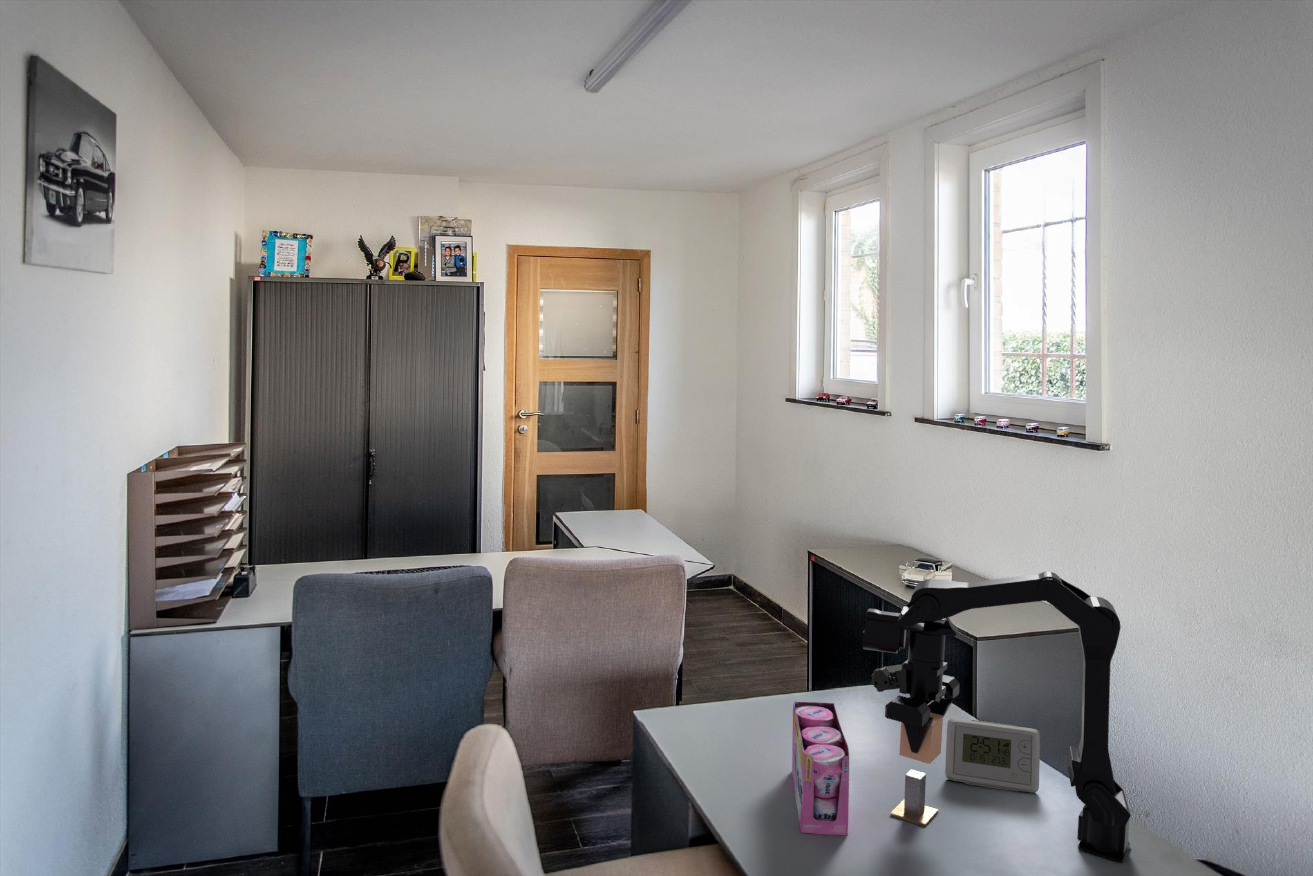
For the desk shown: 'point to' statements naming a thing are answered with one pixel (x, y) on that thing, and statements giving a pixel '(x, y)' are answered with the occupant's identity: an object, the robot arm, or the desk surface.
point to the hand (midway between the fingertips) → (920, 746)
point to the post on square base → (914, 801)
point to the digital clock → (993, 755)
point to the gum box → (820, 769)
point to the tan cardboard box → (924, 742)
